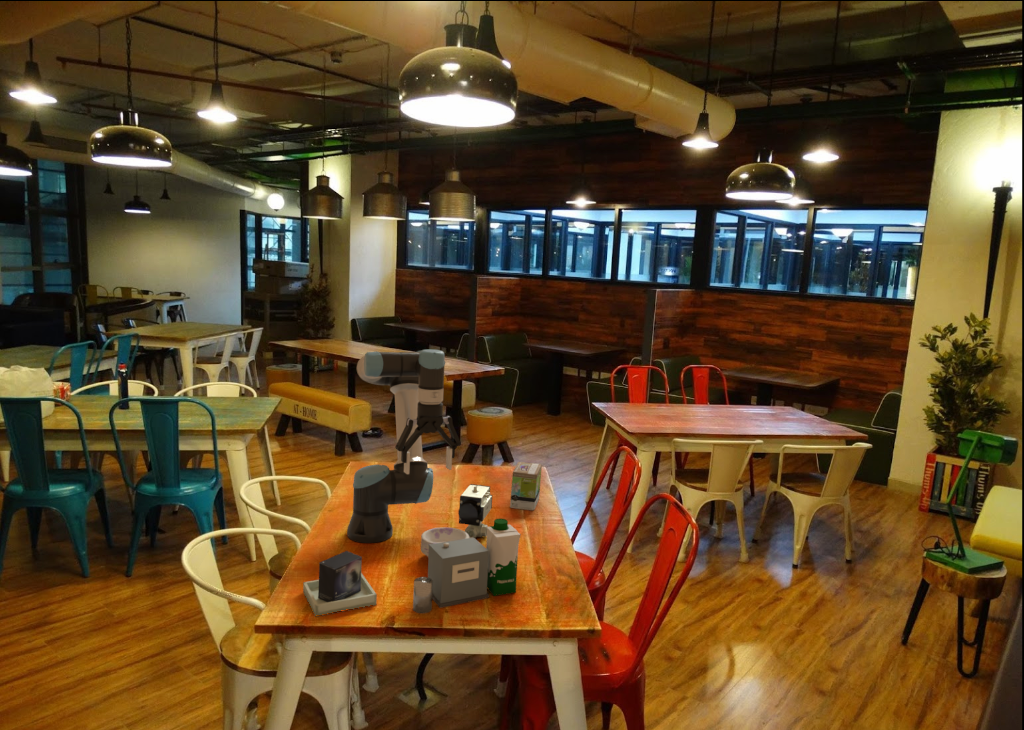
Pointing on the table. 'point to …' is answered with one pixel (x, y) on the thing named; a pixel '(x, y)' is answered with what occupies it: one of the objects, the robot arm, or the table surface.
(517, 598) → the table surface
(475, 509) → the ball valve
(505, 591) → the milk carton
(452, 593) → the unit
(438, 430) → the robot arm
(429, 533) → the paper bowls
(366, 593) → the tray
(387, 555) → the table surface
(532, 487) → the tea box
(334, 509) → the table surface
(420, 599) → the grey cylinder
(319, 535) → the table surface
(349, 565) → the small box
